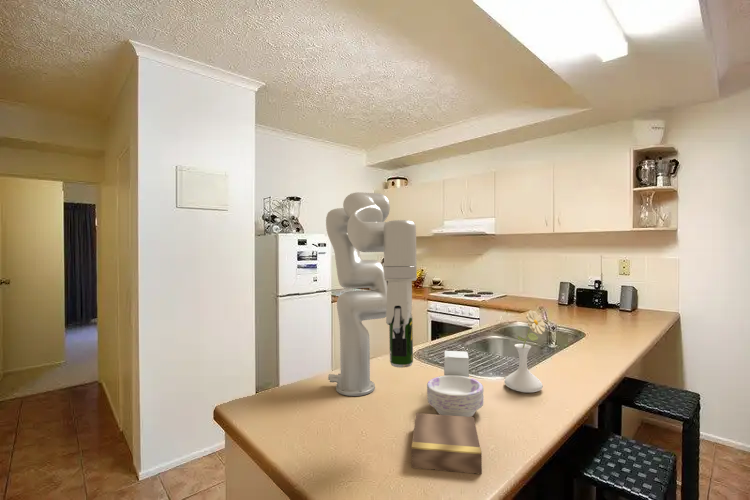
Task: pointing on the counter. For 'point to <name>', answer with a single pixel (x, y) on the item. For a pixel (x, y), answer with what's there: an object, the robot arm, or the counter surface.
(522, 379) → the flower in vase
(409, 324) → the beer can
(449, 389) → the paper bowls
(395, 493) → the counter surface
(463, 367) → the supplement box
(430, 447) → the gold striped gift box
